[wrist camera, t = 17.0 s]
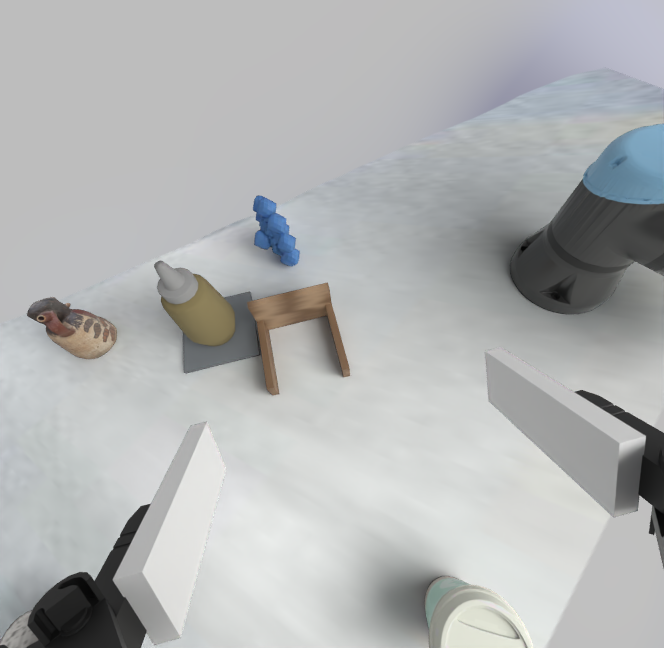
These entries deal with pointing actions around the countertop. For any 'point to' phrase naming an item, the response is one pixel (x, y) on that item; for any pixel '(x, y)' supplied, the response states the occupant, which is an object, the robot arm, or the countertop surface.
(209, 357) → the rubber mat
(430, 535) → the countertop surface
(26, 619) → the mug
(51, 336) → the figurine
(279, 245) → the grapes
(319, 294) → the brown wooden frame
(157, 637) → the robot arm
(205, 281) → the squeeze bottle
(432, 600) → the coffee cup
